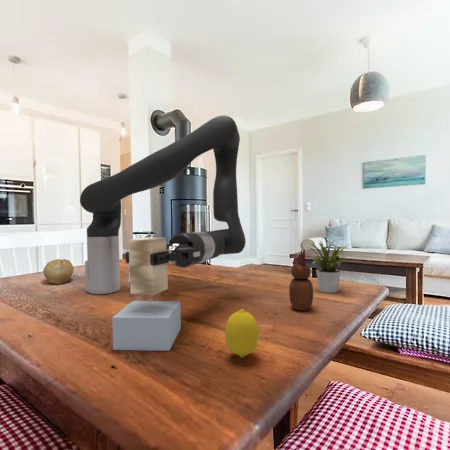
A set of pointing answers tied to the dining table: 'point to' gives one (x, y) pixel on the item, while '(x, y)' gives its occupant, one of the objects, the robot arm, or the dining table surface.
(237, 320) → the lemon
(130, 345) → the slate block
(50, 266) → the bread roll
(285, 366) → the dining table surface
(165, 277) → the birch block
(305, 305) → the wooden figurine
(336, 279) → the house plant
